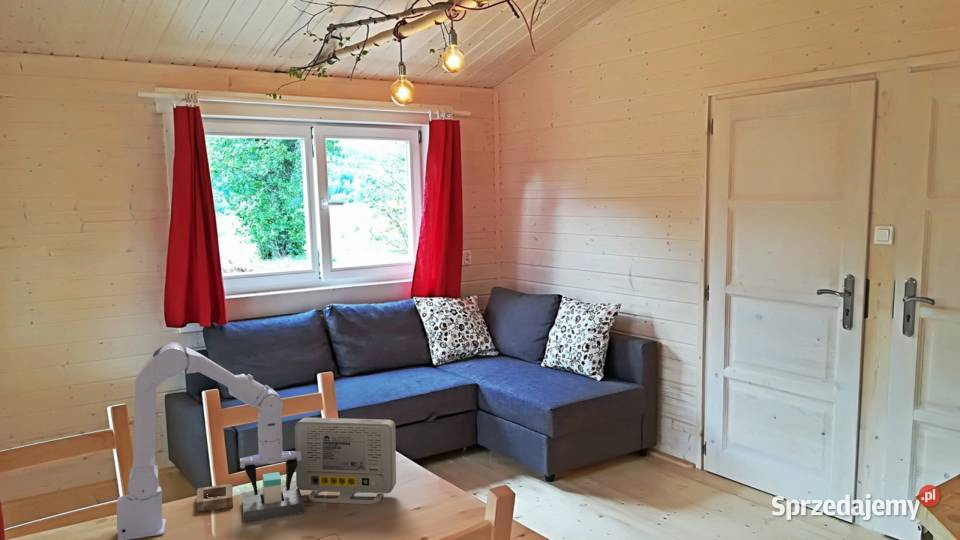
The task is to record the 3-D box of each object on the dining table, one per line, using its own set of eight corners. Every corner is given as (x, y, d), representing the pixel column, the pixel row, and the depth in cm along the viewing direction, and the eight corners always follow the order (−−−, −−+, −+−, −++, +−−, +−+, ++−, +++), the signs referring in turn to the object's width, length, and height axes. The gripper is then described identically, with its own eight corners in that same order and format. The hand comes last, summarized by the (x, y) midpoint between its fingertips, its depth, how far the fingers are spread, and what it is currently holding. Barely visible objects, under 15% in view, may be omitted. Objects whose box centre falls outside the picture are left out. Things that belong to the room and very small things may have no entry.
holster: (196, 512, 169) (196, 502, 169) (197, 497, 178) (197, 488, 178) (232, 506, 172) (232, 497, 172) (232, 492, 181) (231, 483, 181)
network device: (398, 491, 181) (397, 417, 180) (390, 505, 172) (389, 427, 171) (304, 487, 184) (302, 414, 182) (292, 501, 175) (290, 424, 173)
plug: (265, 512, 169) (264, 481, 168) (263, 504, 173) (262, 474, 173) (281, 510, 170) (280, 478, 169) (280, 502, 175) (279, 471, 174)
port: (244, 522, 163) (243, 512, 163) (242, 502, 175) (241, 493, 174) (303, 512, 168) (303, 502, 168) (298, 494, 180) (298, 485, 179)
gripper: (239, 447, 164) (242, 502, 165) (301, 439, 169) (303, 492, 170) (239, 438, 170) (241, 491, 171) (298, 431, 175) (300, 482, 177)
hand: (272, 491), depth 171 cm, fingers open, 7 cm apart
